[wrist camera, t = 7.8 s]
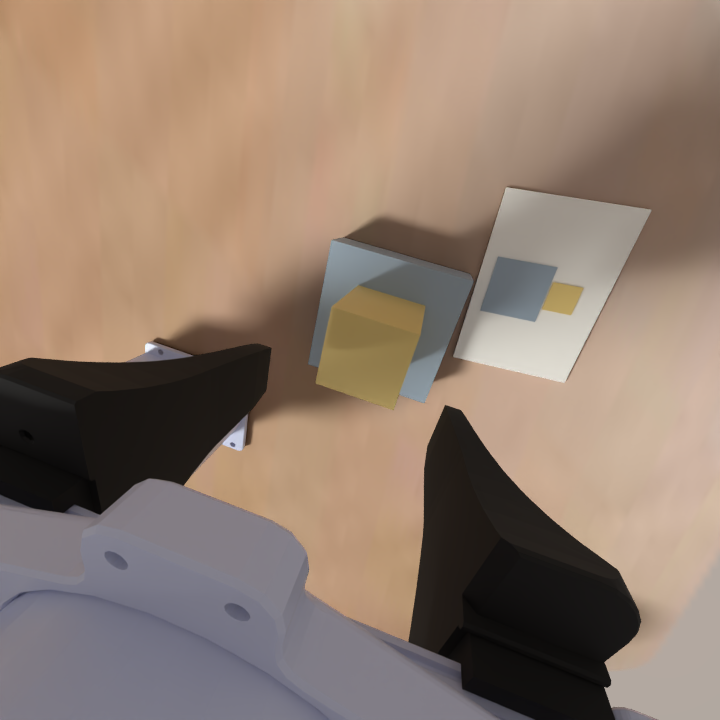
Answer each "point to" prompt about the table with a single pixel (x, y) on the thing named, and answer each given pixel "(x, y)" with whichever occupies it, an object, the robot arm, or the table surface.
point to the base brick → (404, 280)
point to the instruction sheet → (545, 280)
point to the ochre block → (370, 345)
